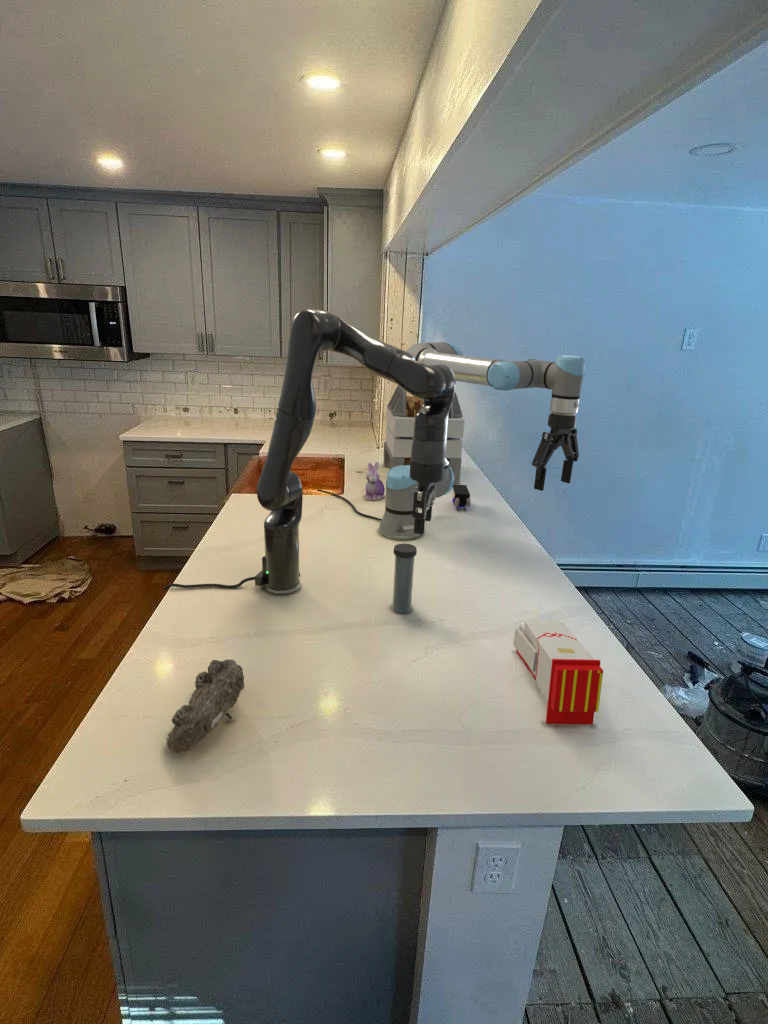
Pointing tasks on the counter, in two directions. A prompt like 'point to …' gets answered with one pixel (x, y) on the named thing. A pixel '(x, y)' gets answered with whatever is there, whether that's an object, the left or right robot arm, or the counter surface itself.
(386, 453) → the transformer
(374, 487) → the figurine
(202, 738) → the fossil
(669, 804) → the counter surface
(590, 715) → the toy
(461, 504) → the figurine character
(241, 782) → the counter surface
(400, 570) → the jar
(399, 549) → the lid
